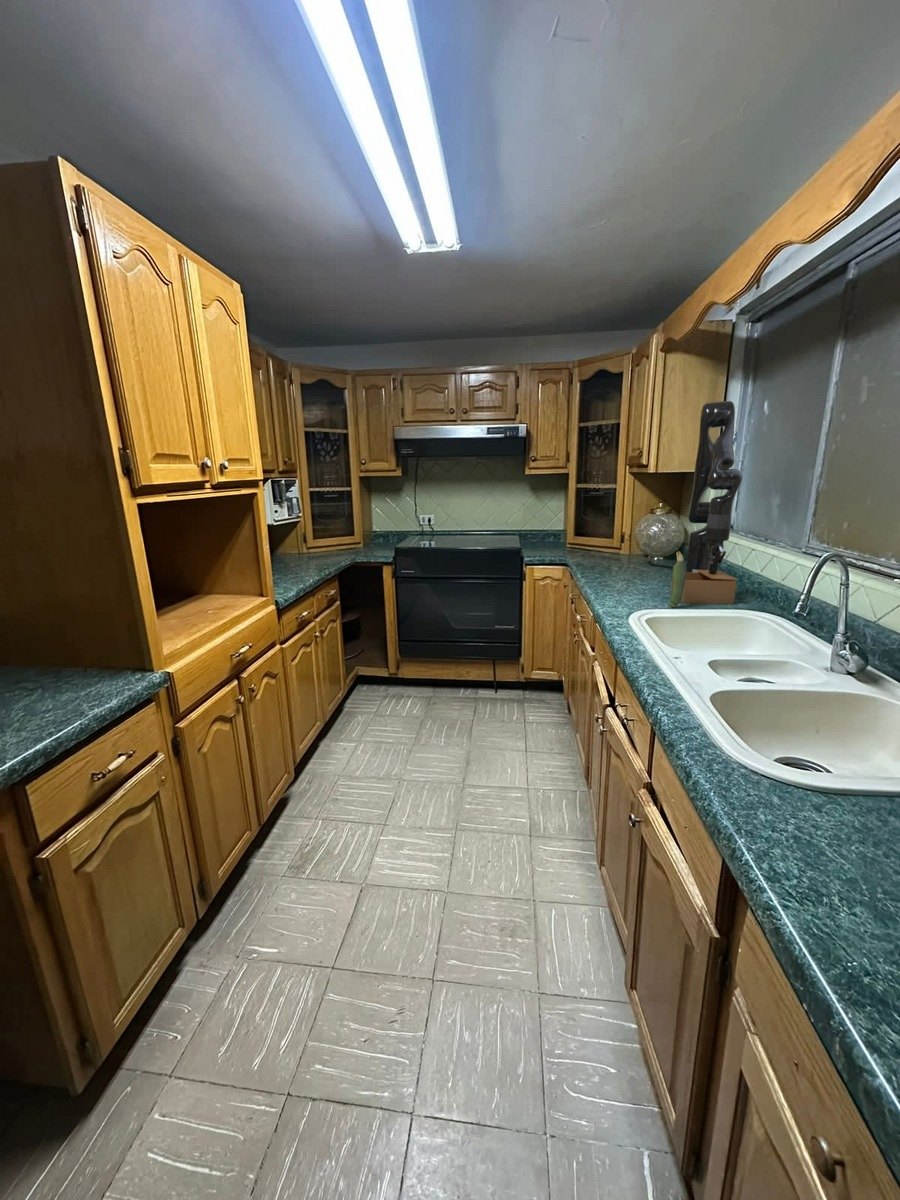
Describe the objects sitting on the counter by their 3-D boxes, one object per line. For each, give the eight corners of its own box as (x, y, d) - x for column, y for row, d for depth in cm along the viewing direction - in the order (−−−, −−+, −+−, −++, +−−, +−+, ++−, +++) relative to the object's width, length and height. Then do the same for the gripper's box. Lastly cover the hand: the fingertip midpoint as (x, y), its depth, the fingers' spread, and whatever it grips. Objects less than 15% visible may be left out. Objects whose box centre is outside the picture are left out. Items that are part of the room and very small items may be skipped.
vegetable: (679, 606, 171) (686, 550, 166) (684, 609, 167) (691, 552, 161) (666, 606, 171) (672, 550, 166) (671, 609, 167) (677, 552, 162)
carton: (670, 593, 189) (673, 572, 187) (717, 594, 186) (719, 572, 184) (683, 603, 174) (685, 580, 172) (733, 604, 172) (736, 581, 170)
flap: (696, 570, 185) (697, 569, 185) (719, 571, 184) (720, 570, 184) (711, 578, 171) (711, 577, 171) (736, 580, 170) (736, 578, 170)
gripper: (700, 524, 180) (695, 570, 184) (714, 528, 167) (708, 577, 172) (722, 524, 179) (716, 570, 183) (737, 528, 166) (730, 577, 171)
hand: (712, 573), depth 178 cm, fingers closed
